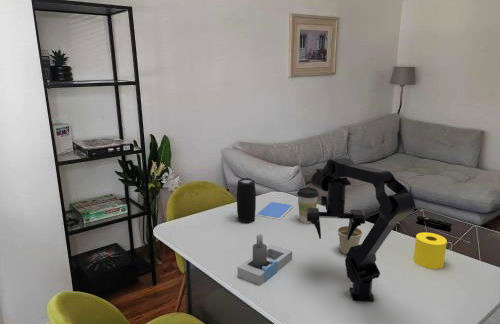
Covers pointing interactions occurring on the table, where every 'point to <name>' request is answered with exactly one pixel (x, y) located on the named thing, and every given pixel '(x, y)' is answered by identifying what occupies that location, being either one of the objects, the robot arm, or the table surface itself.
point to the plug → (259, 253)
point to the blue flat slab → (274, 210)
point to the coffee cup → (306, 202)
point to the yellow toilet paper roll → (430, 250)
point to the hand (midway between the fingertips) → (333, 239)
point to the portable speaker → (246, 200)
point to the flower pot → (353, 240)
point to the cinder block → (267, 272)
